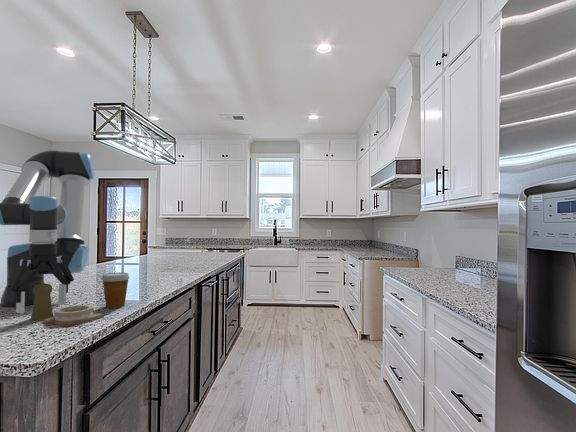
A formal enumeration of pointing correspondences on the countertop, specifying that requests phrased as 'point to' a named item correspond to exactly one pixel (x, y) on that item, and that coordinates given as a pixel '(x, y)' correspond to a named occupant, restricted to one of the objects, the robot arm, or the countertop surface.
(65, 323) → the collar base
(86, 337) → the countertop surface
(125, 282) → the disposable coffee cup
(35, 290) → the olive knobbed peg
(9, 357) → the countertop surface
